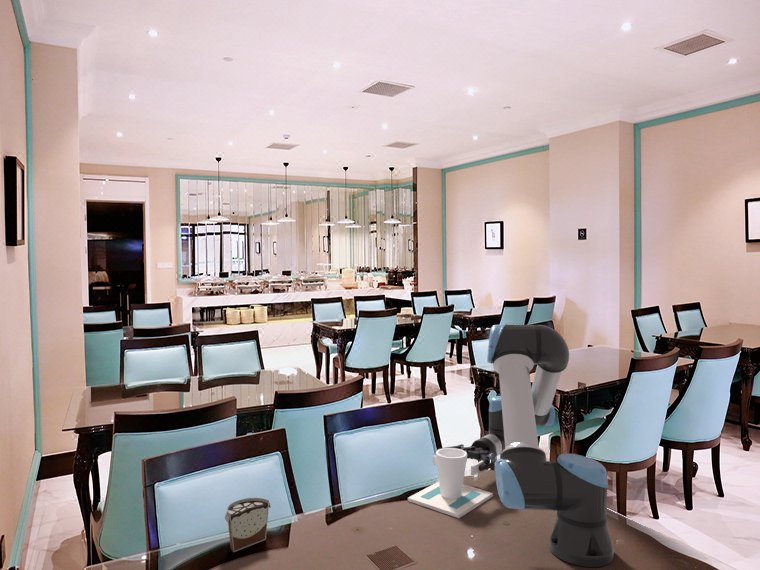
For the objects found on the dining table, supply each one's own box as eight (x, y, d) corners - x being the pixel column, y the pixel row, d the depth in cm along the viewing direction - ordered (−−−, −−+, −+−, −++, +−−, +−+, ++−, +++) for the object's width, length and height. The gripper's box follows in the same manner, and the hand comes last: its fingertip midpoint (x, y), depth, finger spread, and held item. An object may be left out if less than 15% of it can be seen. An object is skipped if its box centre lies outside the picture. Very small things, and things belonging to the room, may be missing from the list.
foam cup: (468, 501, 166) (468, 458, 166) (437, 501, 166) (437, 457, 166) (463, 488, 175) (464, 448, 175) (434, 488, 176) (435, 447, 175)
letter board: (492, 496, 173) (493, 492, 173) (458, 518, 157) (458, 514, 157) (444, 481, 184) (444, 478, 184) (407, 500, 169) (407, 497, 169)
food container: (257, 529, 150) (258, 492, 149) (270, 537, 145) (270, 499, 145) (215, 545, 141) (215, 506, 141) (228, 554, 137) (228, 514, 136)
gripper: (520, 468, 180) (488, 488, 164) (454, 451, 196) (419, 468, 180) (520, 445, 180) (489, 462, 164) (454, 430, 196) (419, 445, 179)
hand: (452, 465), depth 172 cm, fingers open, 13 cm apart
